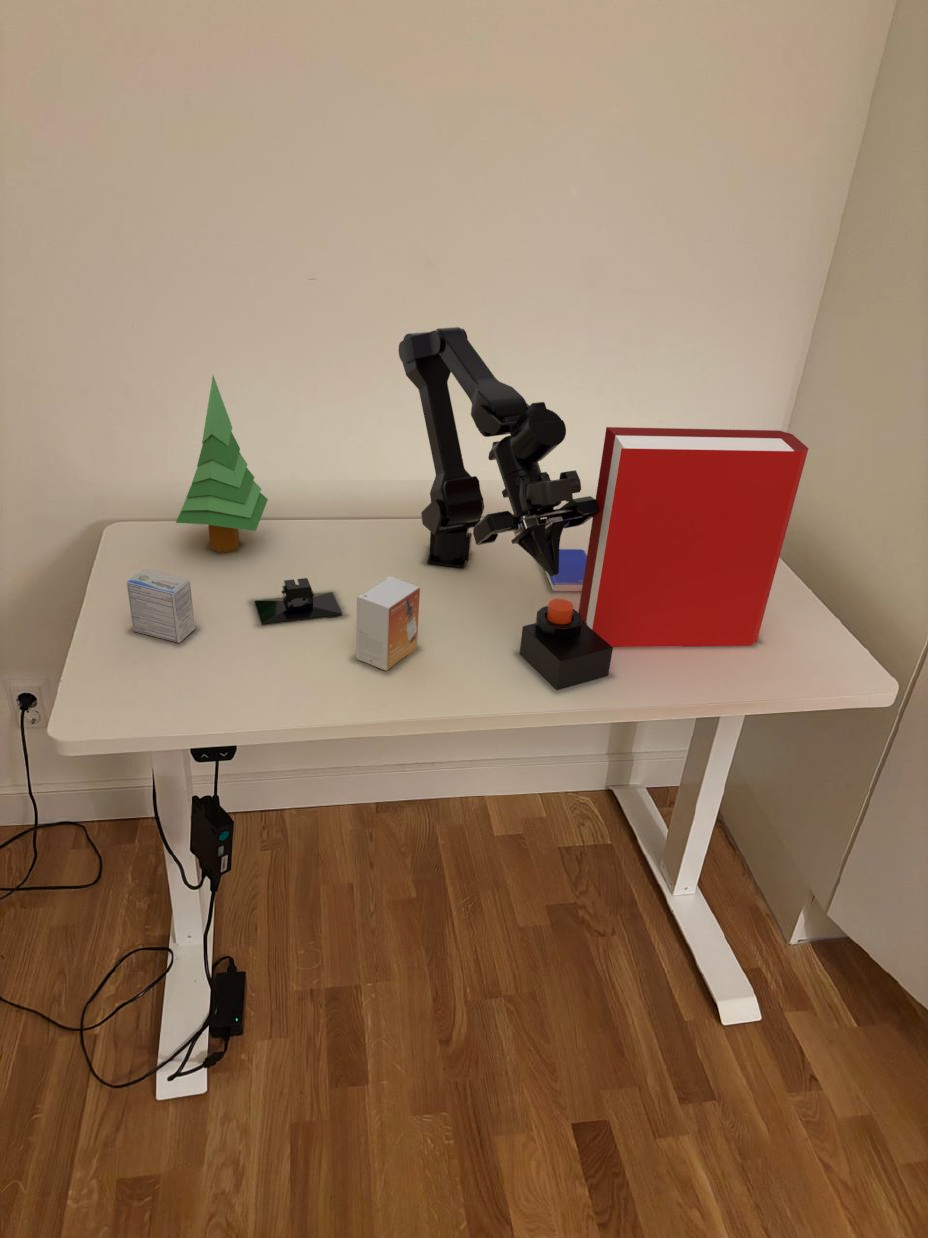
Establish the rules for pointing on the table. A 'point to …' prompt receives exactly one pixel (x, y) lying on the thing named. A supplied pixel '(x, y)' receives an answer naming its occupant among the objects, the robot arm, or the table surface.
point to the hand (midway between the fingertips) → (554, 575)
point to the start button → (560, 611)
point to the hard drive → (569, 570)
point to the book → (688, 534)
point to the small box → (387, 622)
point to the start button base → (565, 651)
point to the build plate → (297, 604)
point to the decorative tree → (222, 483)
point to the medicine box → (161, 605)
